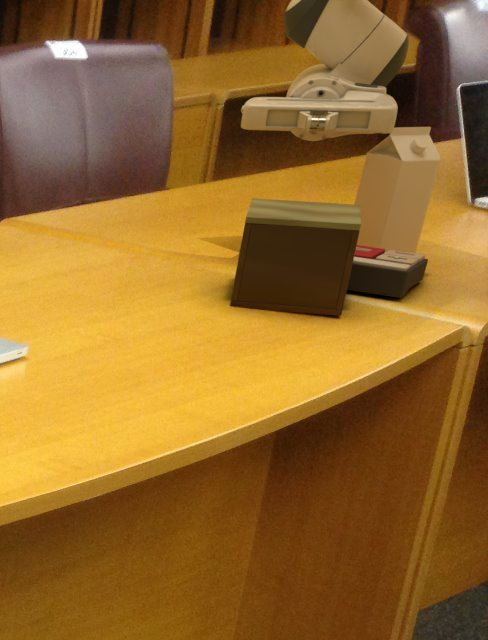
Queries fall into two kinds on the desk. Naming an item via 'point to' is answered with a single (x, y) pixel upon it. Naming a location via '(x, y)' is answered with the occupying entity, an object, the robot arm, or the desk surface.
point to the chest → (294, 268)
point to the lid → (304, 214)
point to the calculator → (385, 271)
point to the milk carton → (397, 189)
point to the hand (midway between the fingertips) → (317, 125)
